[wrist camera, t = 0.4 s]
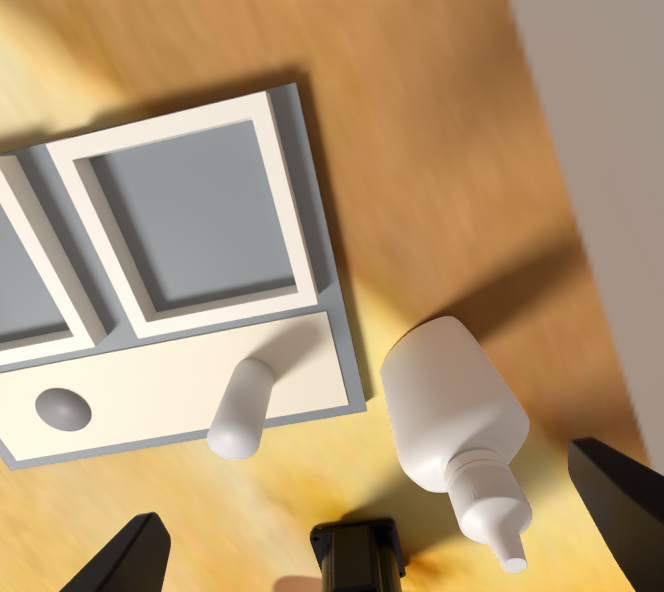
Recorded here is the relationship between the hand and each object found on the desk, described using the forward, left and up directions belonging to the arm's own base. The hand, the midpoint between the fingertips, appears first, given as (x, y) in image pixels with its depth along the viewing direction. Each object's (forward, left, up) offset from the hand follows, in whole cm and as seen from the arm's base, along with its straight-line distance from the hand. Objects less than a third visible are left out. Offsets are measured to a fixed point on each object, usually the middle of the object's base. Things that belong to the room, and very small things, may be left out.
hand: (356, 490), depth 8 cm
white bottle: (-6, -4, -14) cm, 15 cm away
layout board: (0, +12, -13) cm, 18 cm away
